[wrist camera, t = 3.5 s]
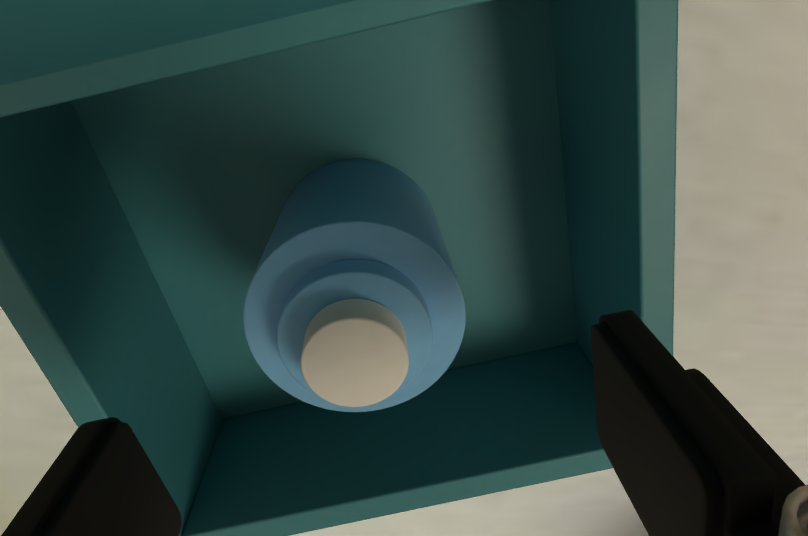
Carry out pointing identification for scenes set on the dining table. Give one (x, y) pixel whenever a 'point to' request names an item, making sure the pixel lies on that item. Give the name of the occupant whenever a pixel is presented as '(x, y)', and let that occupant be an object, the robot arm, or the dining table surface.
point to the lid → (118, 28)
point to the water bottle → (355, 291)
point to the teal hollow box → (260, 209)
